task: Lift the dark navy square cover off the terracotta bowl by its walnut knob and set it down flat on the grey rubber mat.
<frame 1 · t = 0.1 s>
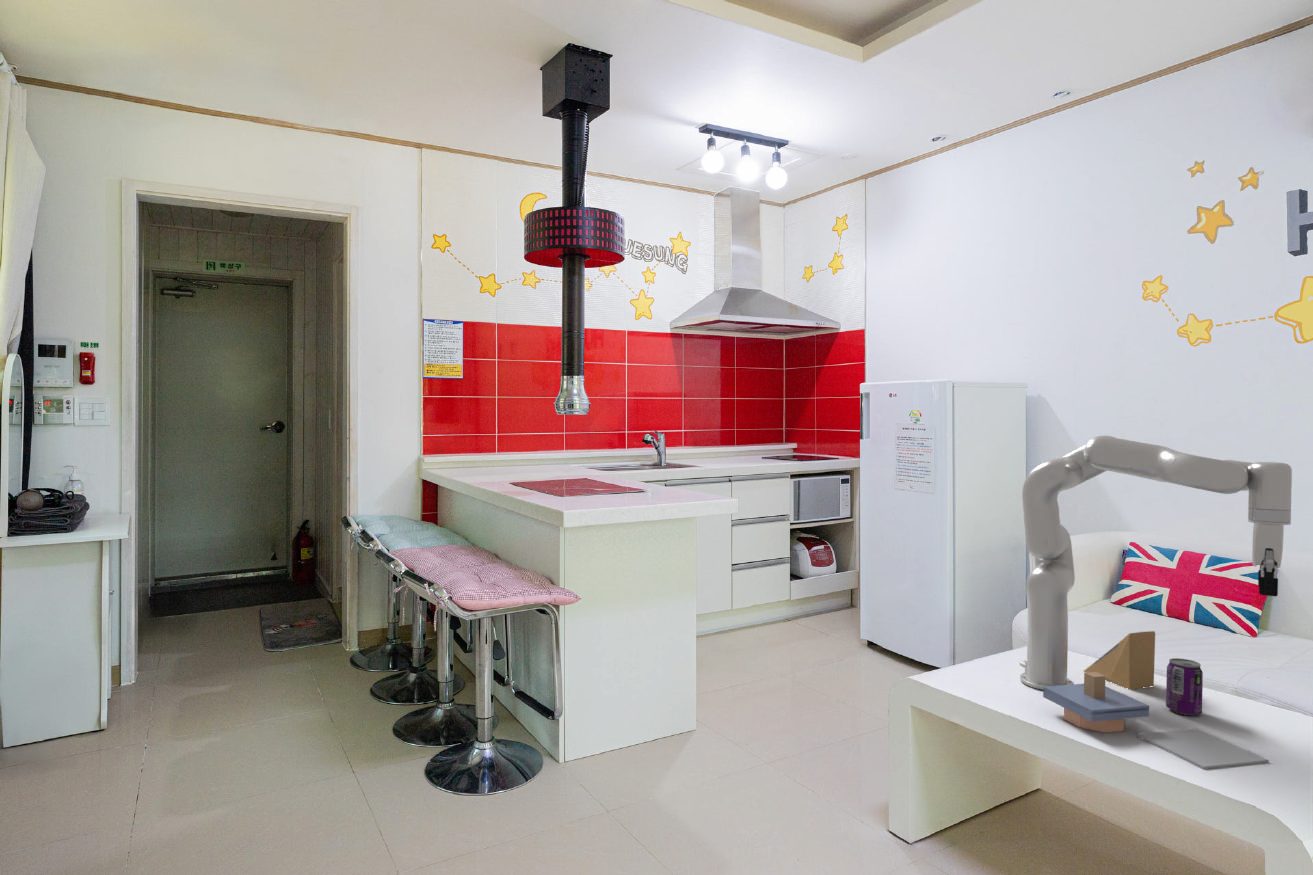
hand: (1267, 591, 170), 31 cm above the table, tool pointing down, fingers open, 9 cm apart
bowl: (1094, 721, 174), on the table
sandwich container: (1117, 679, 203), on the table
cover: (1094, 699, 173), point 5 cm above the table, touching bowl
mat: (1200, 748, 159), on the table
beverage can: (1183, 712, 180), on the table
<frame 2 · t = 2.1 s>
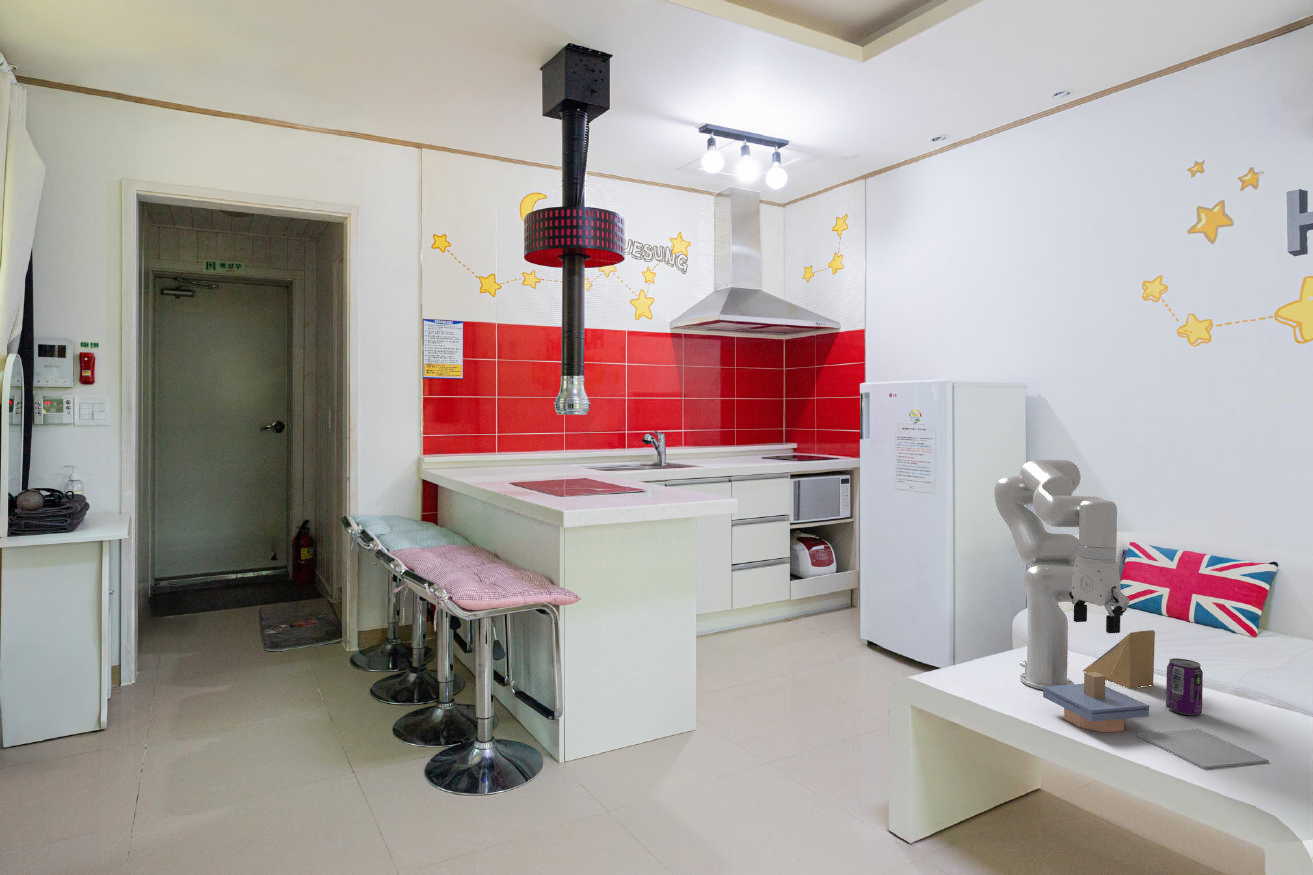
hand: (1096, 627, 173), 22 cm above the table, tool pointing down, fingers open, 9 cm apart
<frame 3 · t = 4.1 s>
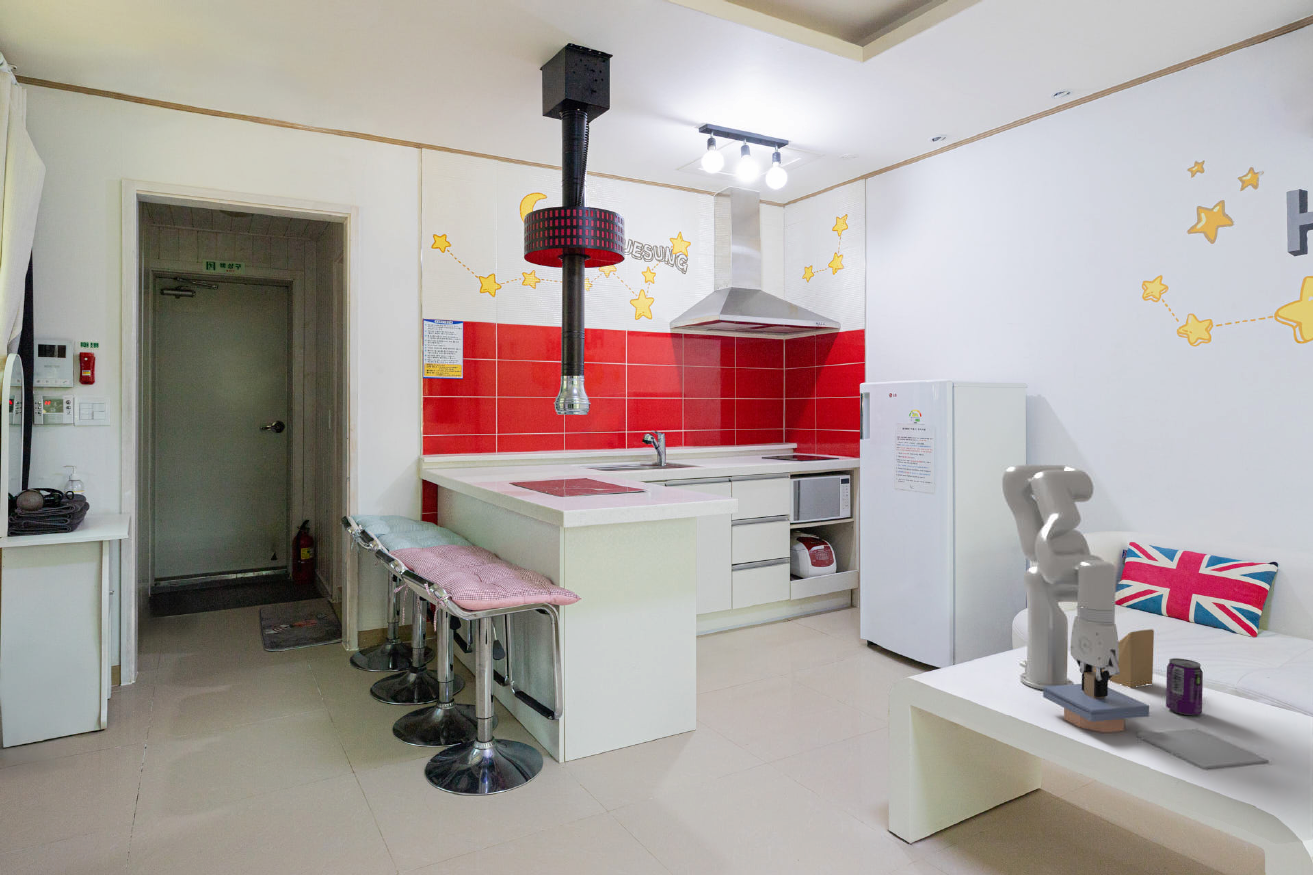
hand: (1094, 692, 173), 7 cm above the table, tool pointing down, fingers closed on cover, 3 cm apart
cover: (1094, 699, 173), point 5 cm above the table, touching bowl, gripper
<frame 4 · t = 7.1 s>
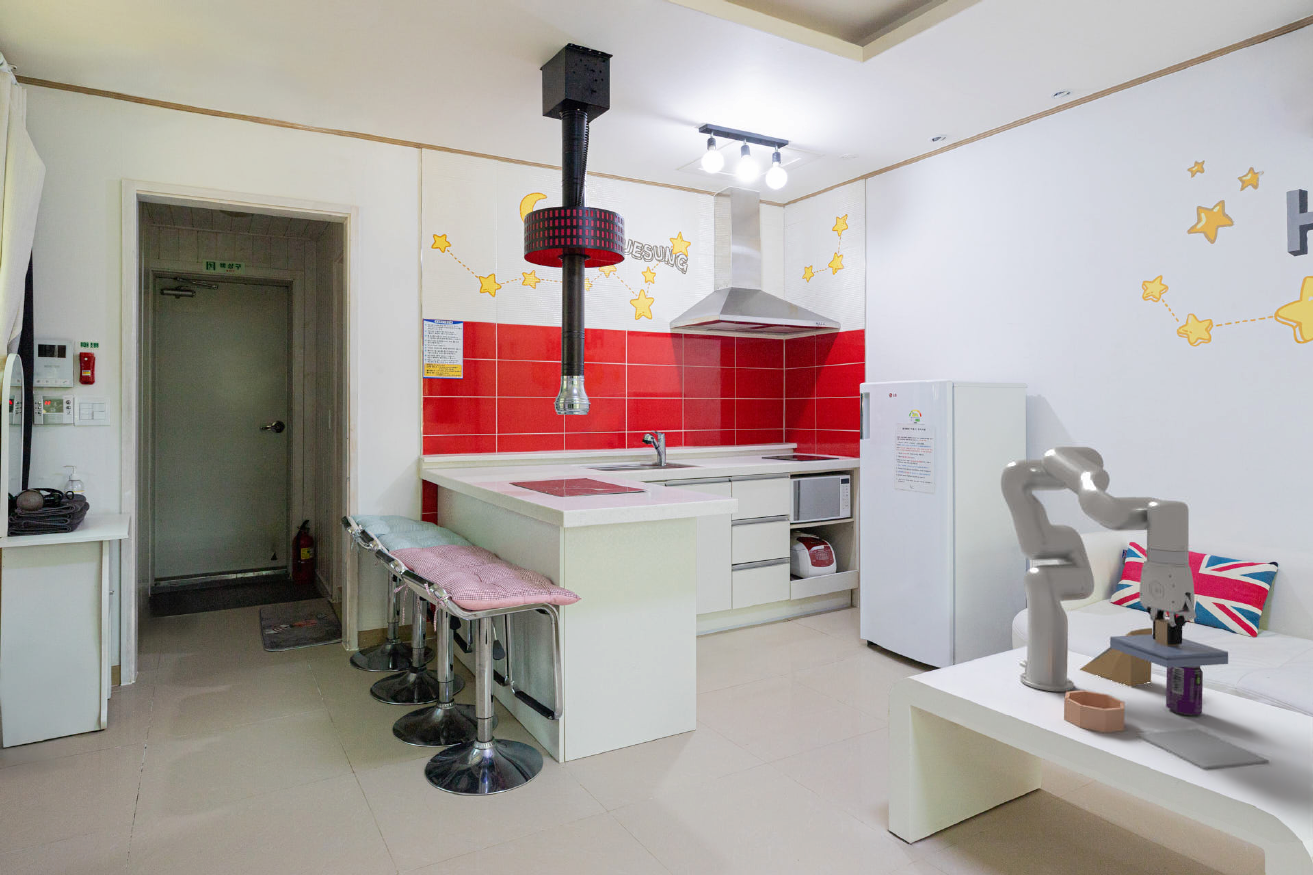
hand: (1167, 640, 163), 22 cm above the table, tool pointing down, fingers closed on cover, 3 cm apart
cover: (1167, 648, 163), point 20 cm above the table, touching gripper
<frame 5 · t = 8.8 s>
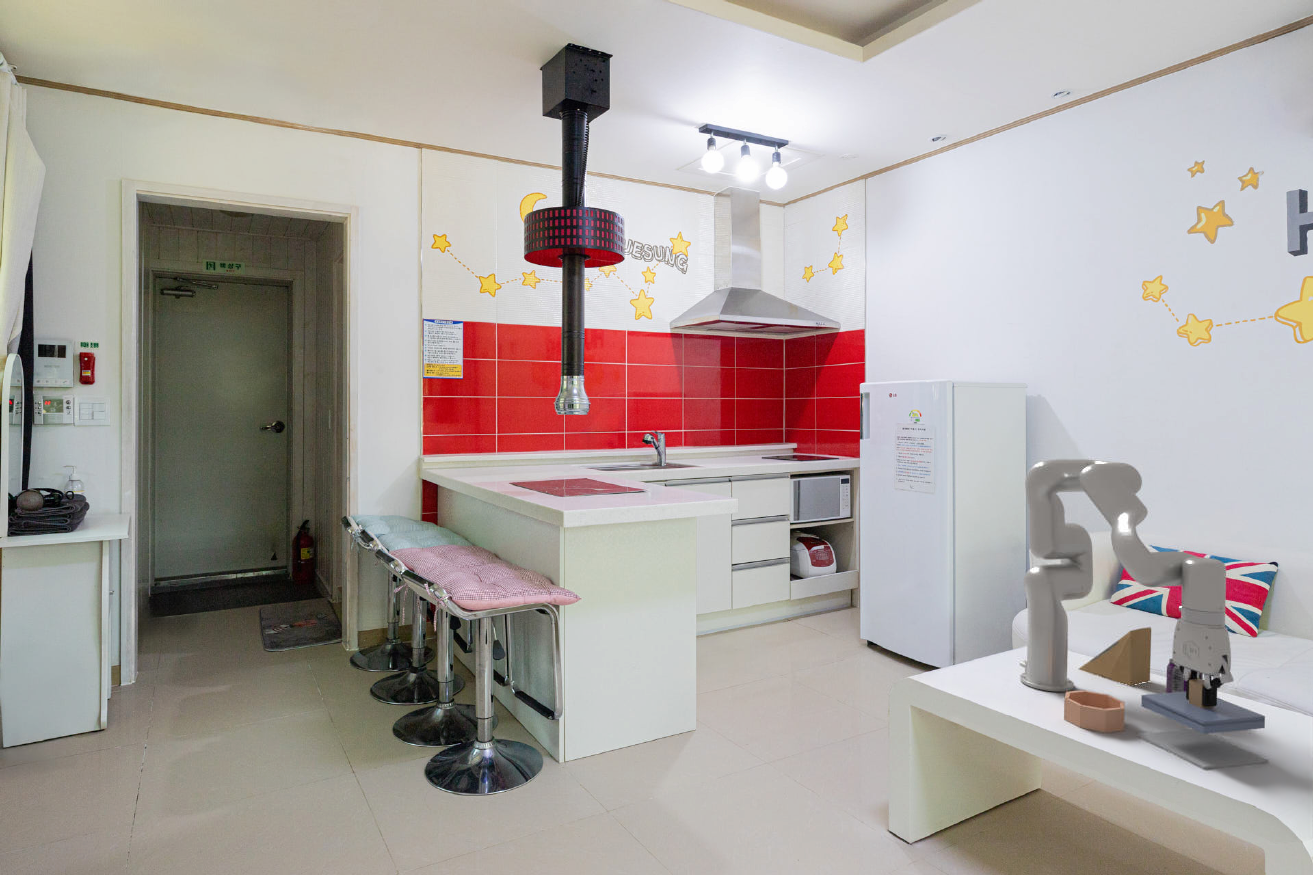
hand: (1201, 701, 159), 10 cm above the table, tool pointing down, fingers closed on cover, 3 cm apart
cover: (1200, 709, 159), point 8 cm above the table, touching gripper
when the fingers open (5 cm above the table, at t = 10.0 s): cover drops 1 cm, resting on mat.
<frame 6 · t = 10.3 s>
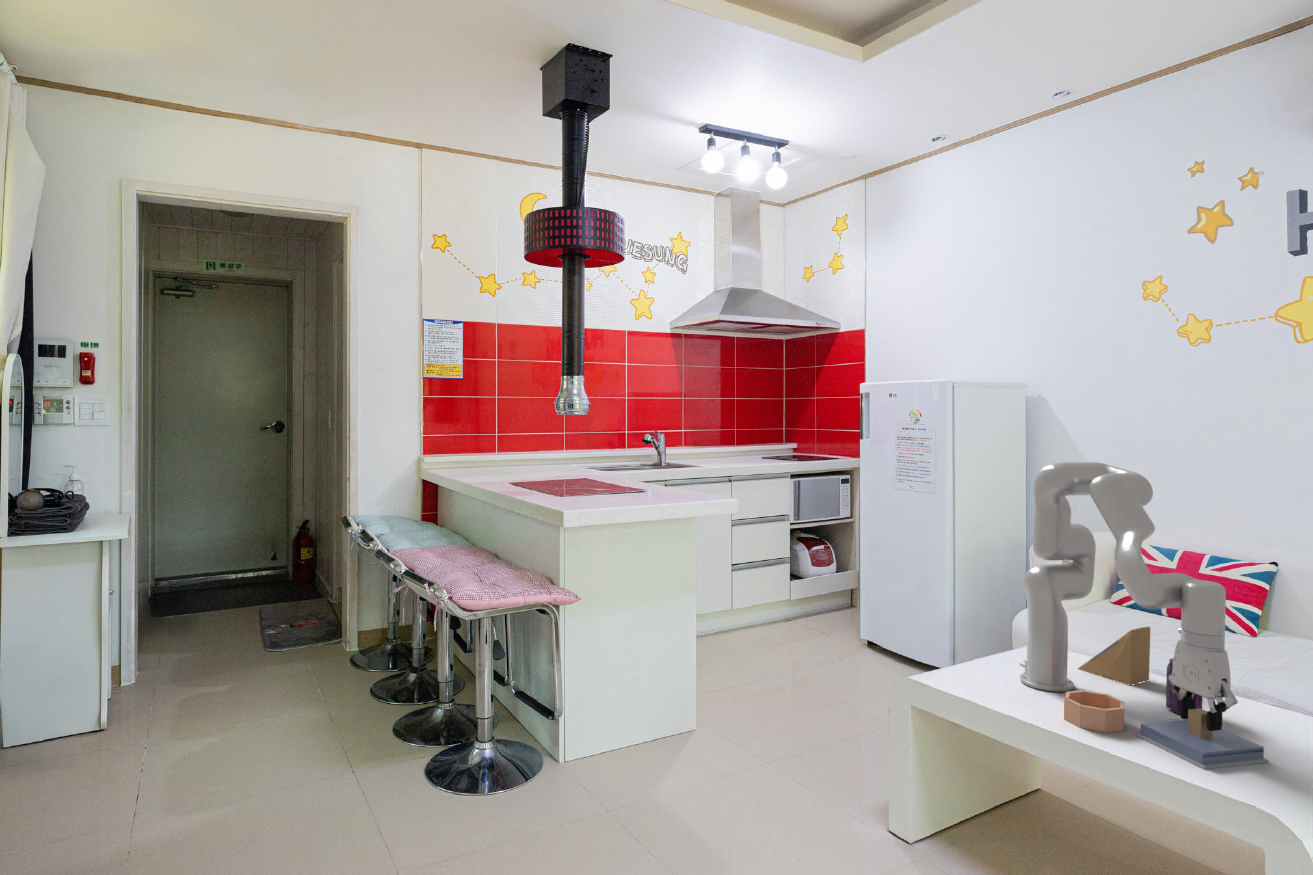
hand: (1200, 723, 159), 5 cm above the table, tool pointing down, fingers open, 5 cm apart
cover: (1199, 739, 159), point 2 cm above the table, touching mat
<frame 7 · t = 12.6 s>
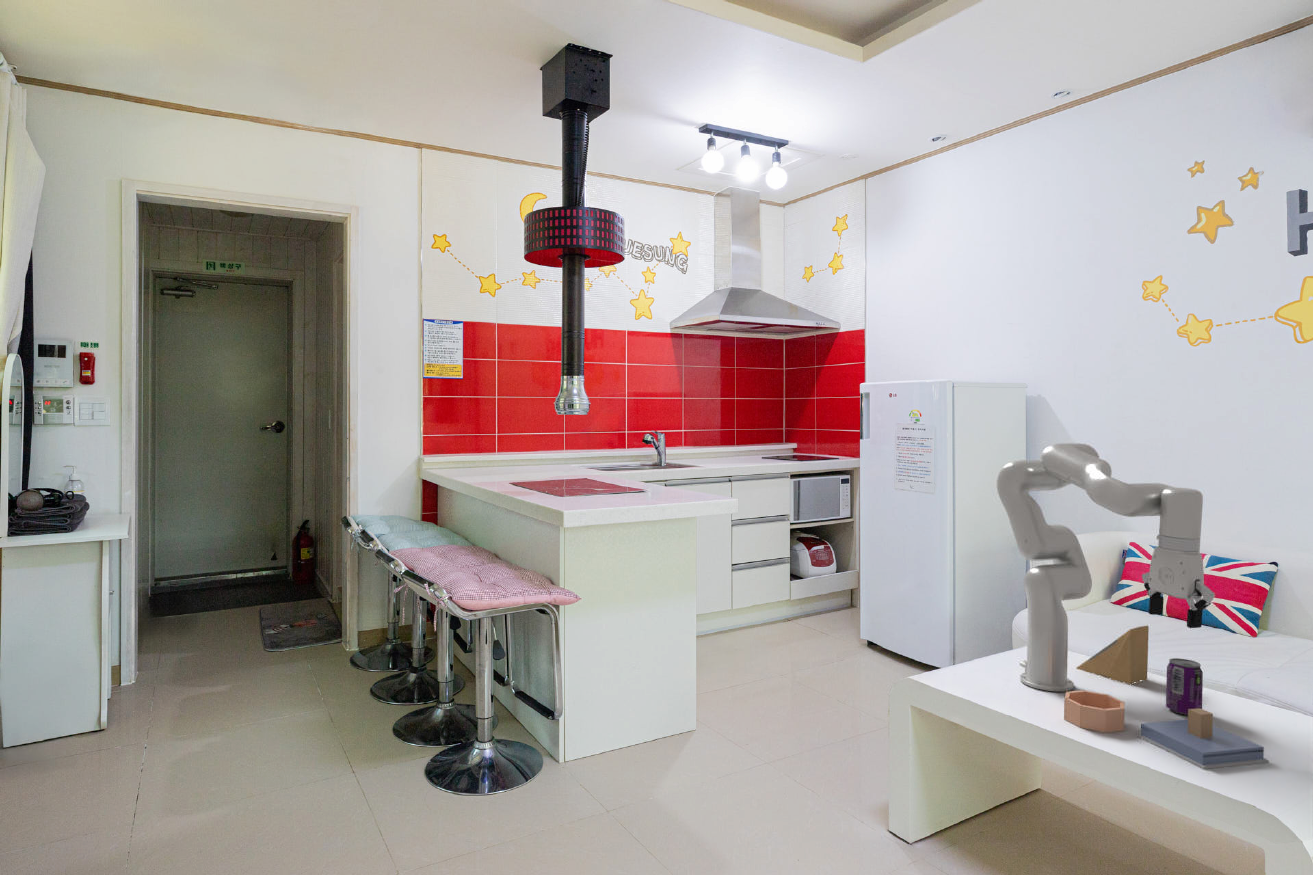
hand: (1174, 620, 166), 26 cm above the table, tool pointing down, fingers open, 9 cm apart
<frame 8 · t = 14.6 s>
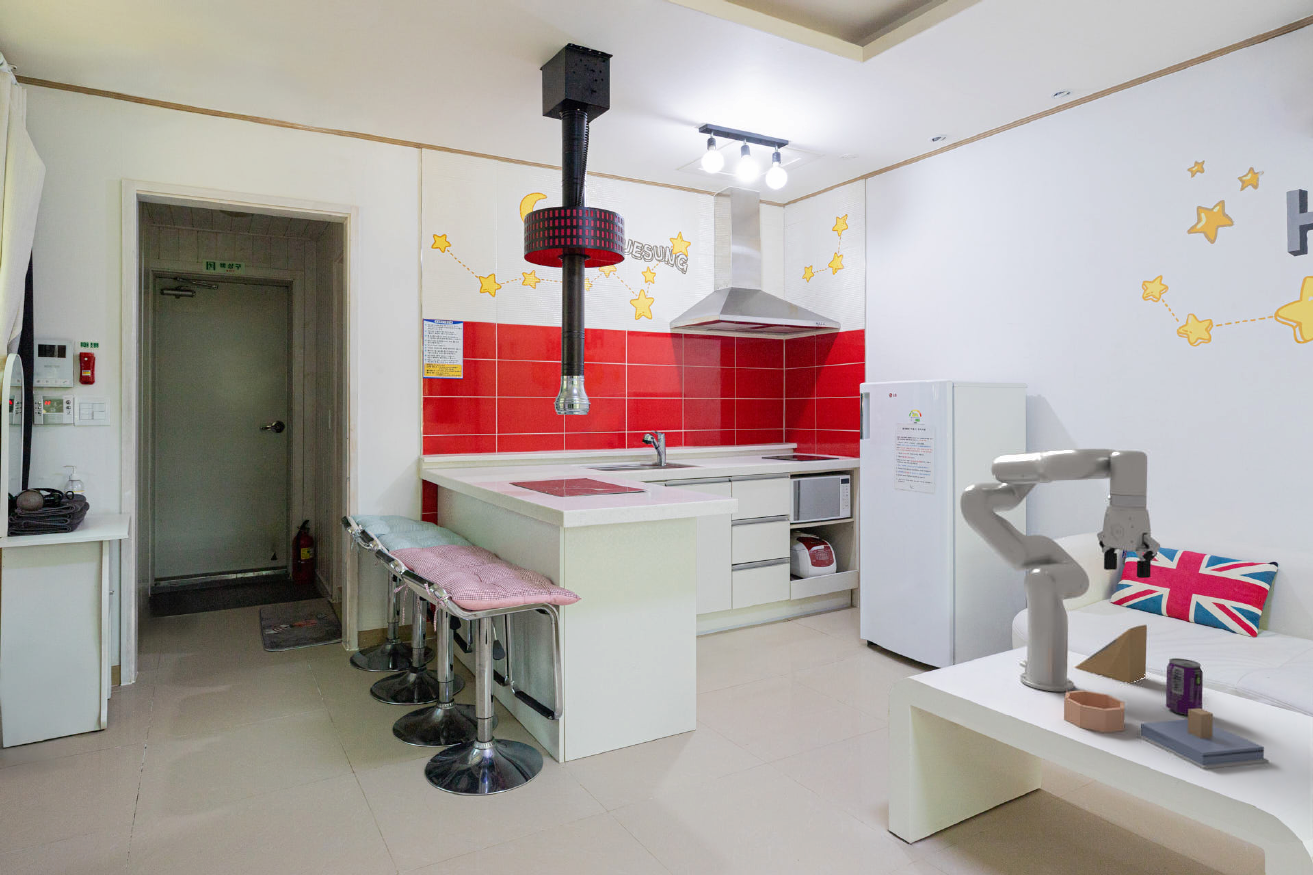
hand: (1126, 573, 179), 33 cm above the table, tool pointing down, fingers open, 9 cm apart
at the end: cover inside the target area on the mat (0.1 cm from its centre), point 2.0 cm above the mat's base; cover tilted 0°; the gripper is holding nothing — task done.
